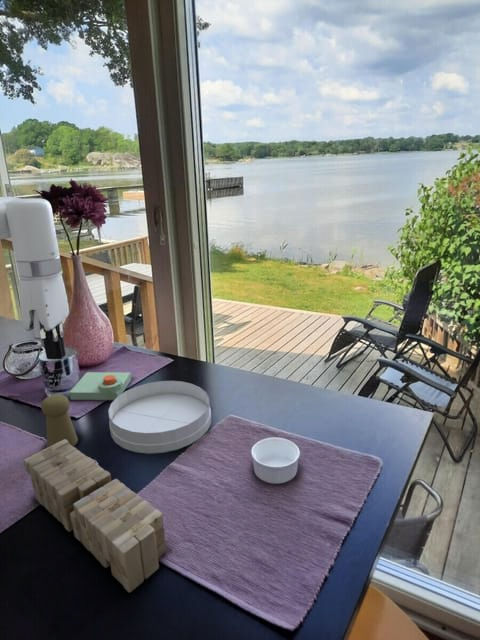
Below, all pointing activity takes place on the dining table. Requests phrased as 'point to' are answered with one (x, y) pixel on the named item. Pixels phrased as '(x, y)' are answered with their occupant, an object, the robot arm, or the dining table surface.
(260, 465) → the ramekin
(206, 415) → the dish
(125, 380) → the scale
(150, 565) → the block tower
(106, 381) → the button
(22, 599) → the dining table surface
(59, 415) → the brown rounded upright piece
